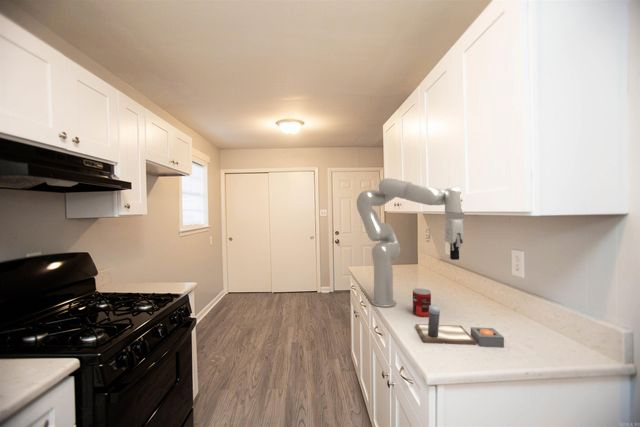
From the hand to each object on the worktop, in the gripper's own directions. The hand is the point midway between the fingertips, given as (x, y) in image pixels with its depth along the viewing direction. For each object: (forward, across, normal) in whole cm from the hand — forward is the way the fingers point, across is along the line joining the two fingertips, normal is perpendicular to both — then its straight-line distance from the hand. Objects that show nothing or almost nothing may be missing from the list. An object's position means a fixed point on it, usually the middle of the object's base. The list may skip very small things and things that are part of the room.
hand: (454, 259), depth 123 cm
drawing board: (+27, +14, -9) cm, 32 cm away
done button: (+26, +18, +5) cm, 32 cm away
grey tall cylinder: (+26, +18, -14) cm, 34 cm away
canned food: (+27, -8, -12) cm, 31 cm away
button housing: (+27, +18, +5) cm, 33 cm away
